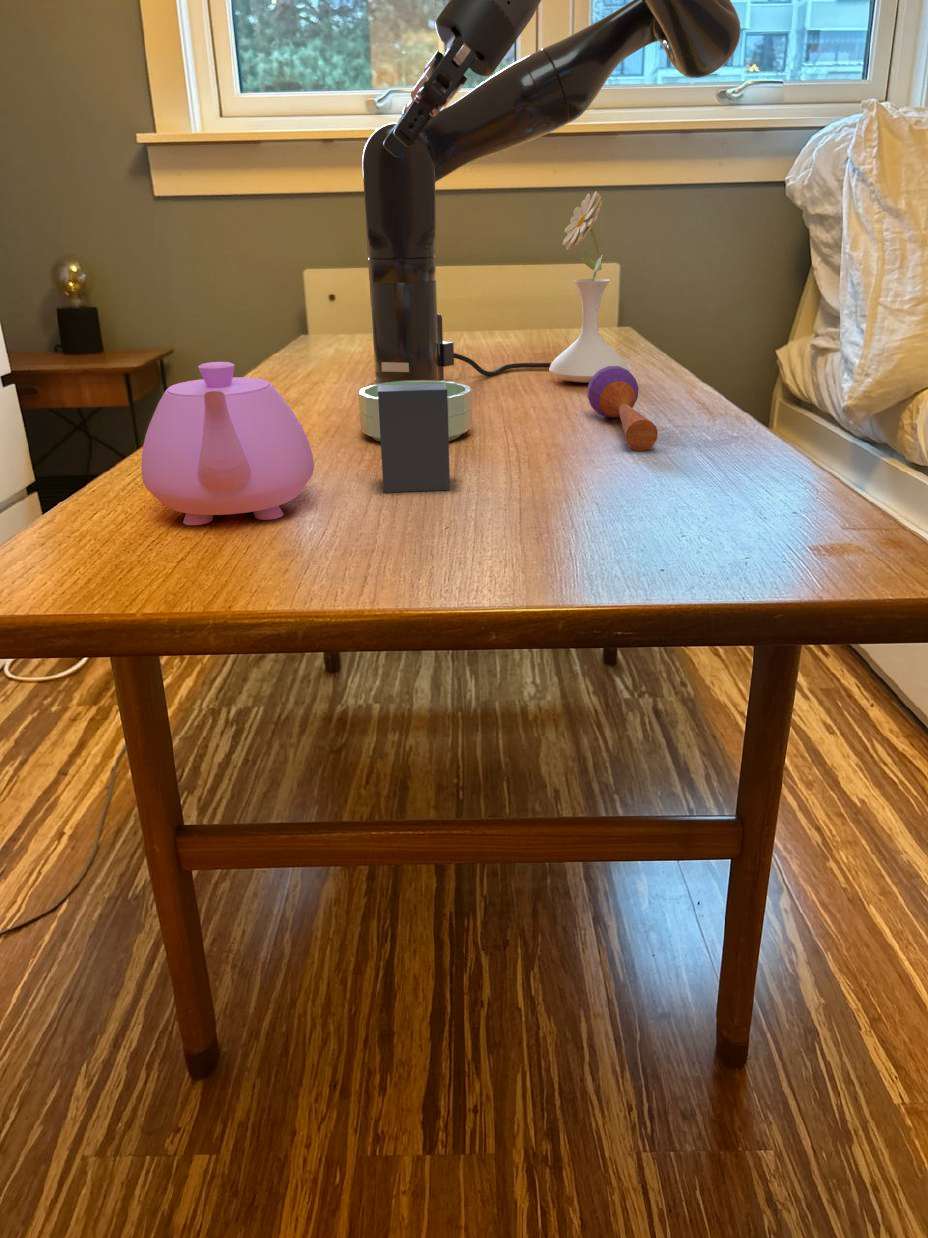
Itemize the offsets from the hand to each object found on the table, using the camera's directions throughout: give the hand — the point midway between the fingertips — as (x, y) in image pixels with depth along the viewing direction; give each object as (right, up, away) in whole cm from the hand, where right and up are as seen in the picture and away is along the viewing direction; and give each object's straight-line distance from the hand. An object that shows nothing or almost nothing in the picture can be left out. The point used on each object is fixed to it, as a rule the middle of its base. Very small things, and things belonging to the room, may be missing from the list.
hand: (395, 146), depth 95 cm
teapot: (-12, -41, -18) cm, 46 cm away
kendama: (+25, -28, +7) cm, 39 cm away
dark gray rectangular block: (+3, -38, -12) cm, 40 cm away
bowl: (+2, -29, +7) cm, 30 cm away
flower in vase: (+25, -16, +36) cm, 46 cm away
